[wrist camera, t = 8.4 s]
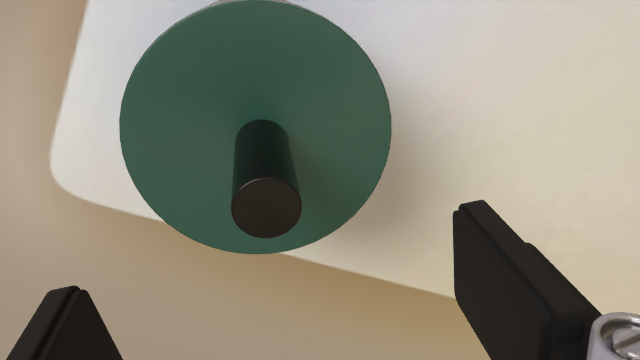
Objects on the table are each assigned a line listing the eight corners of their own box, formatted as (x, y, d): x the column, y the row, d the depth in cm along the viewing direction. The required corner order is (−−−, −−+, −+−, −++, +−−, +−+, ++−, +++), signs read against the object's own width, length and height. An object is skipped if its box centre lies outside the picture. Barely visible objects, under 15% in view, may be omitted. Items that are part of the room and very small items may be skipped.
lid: (103, 210, 22) (44, 313, 15) (158, -51, 17) (107, -57, 11) (331, 262, 25) (360, 364, 19) (426, 55, 21) (505, 97, 14)
